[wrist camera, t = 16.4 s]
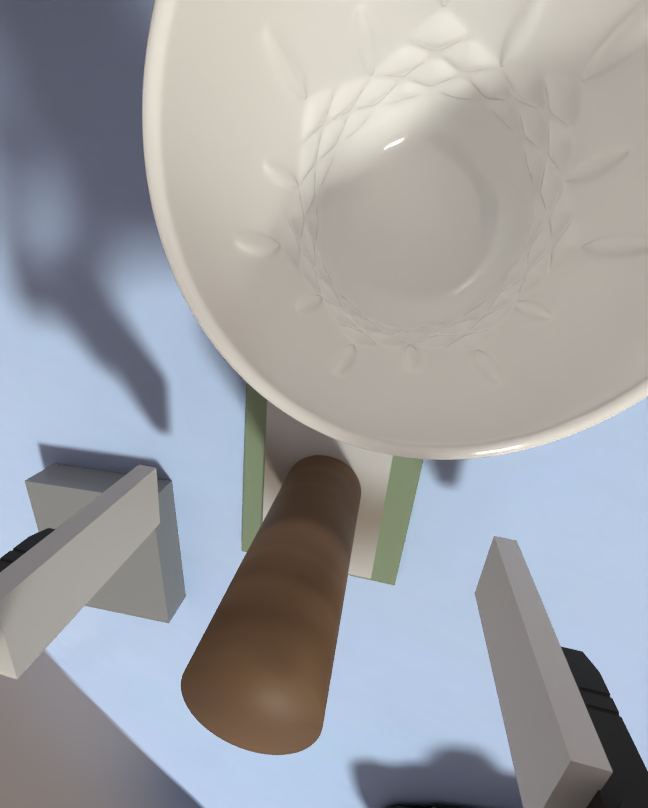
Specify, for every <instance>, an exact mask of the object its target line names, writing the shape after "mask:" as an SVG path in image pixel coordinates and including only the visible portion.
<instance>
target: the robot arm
mask: <svg viewBox="0 0 648 808" xmlns="http://www.w3.org/2000/svg"><path fill="white" fill-rule="evenodd" d="M159 524H160V514H159V499H158V484H157V470H156V468H155V467H150V466H145V465H140V464H139V465H138V466H136V467H135V468H134V469H132V470H131V471H130V472H129V473H127V474H126V475H125V476H124V477H122V478H121V479H120V480H118V481H117V482H116V483H115V484H113V485H112V486H111V487H109V488H108V489H107V490H106V491H104V492H103V493H102V494H100V495H99V496H98V497H97V498H95V499H94V500H93V501H91V502H90V503H89V504H88V505H86V506H85V507H84V508H82V509H81V510H80V511H79V512H77V513H76V514H75V515H73V516H72V517H71V518H70V519H68V520H67V521H66V522H64V523H63V524H62V525H61V526H59V527H58V528H57V529H52V528H47V529H45V530H42V531H40V532H38V533H36V534H34V535H32V536H30V537H28V538H27V539H25V540H24V541H23V542H21V543H20V544H19V545H17V546H16V547H15V548H14V549H13V551H9V552H8V553H7V554H5V555H4V556H3V557H1V558H0V674H1V675H4V676H8V677H11V678H14V679H18V678H19V677H20V676H21V675H22V674H23V672H24V671H25V670H26V669H27V668H28V667H29V666H30V665H31V664H32V663H33V661H34V660H35V659H36V658H37V657H38V656H39V655H40V654H41V653H42V652H43V651H44V650H45V648H46V647H47V646H48V645H49V644H50V643H51V642H52V641H53V640H54V639H55V638H56V636H57V635H58V634H59V633H60V632H61V631H62V630H63V629H64V628H65V627H66V625H67V624H68V623H69V622H70V621H71V620H72V619H73V618H74V617H75V616H76V615H77V613H78V612H79V611H80V610H81V609H82V608H83V607H84V606H85V605H86V604H87V603H88V601H89V600H90V599H91V598H92V597H93V596H94V595H95V594H96V593H97V592H98V591H99V589H100V588H101V587H102V586H103V585H104V584H105V583H106V582H107V581H108V580H109V579H110V577H111V576H112V575H113V574H114V573H115V572H116V571H117V570H118V569H119V568H120V567H121V565H122V564H123V563H124V562H125V561H126V560H127V559H128V558H129V557H130V556H131V554H132V553H133V552H134V551H135V550H136V549H137V548H138V547H139V546H140V545H141V544H142V542H143V541H144V540H145V539H146V538H147V537H148V536H149V535H150V534H151V533H152V532H153V530H154V529H155V528H156V527H157V526H158V525H159ZM475 596H476V601H477V605H478V610H479V614H480V618H481V623H482V627H483V632H484V636H485V641H486V645H487V650H488V654H489V658H490V663H491V667H492V672H493V676H494V681H495V685H496V690H497V694H498V698H499V703H500V707H501V712H502V716H503V721H504V725H505V729H506V734H507V738H508V743H509V747H510V752H511V756H512V761H513V765H514V769H515V774H516V778H517V783H518V787H519V792H520V796H521V801H522V805H523V808H648V771H647V769H646V767H645V765H644V763H643V761H642V759H641V757H640V755H639V753H638V751H637V748H636V746H635V744H634V742H633V740H632V738H631V736H630V734H629V732H628V730H627V728H626V726H625V724H624V722H623V720H622V718H621V717H620V716H619V711H618V709H617V707H616V705H615V703H614V701H613V699H612V698H610V693H609V691H608V689H607V687H606V685H605V683H604V680H603V678H602V676H601V674H600V672H599V671H598V670H597V669H596V667H595V666H594V665H593V664H592V663H591V661H590V660H589V659H588V658H587V657H586V655H585V654H584V653H583V652H581V651H577V650H573V649H569V648H564V647H561V646H560V644H559V641H558V639H557V637H556V634H555V632H554V629H553V627H552V625H551V622H550V620H549V617H548V615H547V613H546V610H545V608H544V605H543V603H542V601H541V598H540V596H539V593H538V591H537V589H536V586H535V584H534V581H533V579H532V577H531V574H530V572H529V569H528V567H527V565H526V562H525V560H524V557H523V555H522V553H521V550H520V548H519V545H518V543H517V541H516V540H511V539H507V538H502V537H497V536H494V538H493V541H492V544H491V547H490V550H489V553H488V555H487V558H486V561H485V564H484V567H483V570H482V573H481V576H480V579H479V582H478V585H477V588H476V591H475Z"/></svg>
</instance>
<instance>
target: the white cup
mask: <svg viewBox="0 0 648 808" xmlns="http://www.w3.org/2000/svg"><path fill="white" fill-rule="evenodd" d="M142 132H143V149H144V160H145V169H146V176H147V183H148V189H149V195H150V200H151V205H152V209H153V214H154V218H155V222H156V226H157V229H158V233H159V236H160V239H161V243H162V246H163V249H164V252H165V255H166V257H167V260H168V263H169V265H170V268H171V270H172V273H173V275H174V277H175V280H176V282H177V284H178V286H179V289H180V291H181V293H182V295H183V297H184V299H185V301H186V302H187V304H188V306H189V308H190V310H191V312H192V313H193V315H194V317H195V318H196V320H197V322H198V323H199V325H200V326H201V328H202V329H203V331H204V332H205V334H206V335H207V337H208V338H209V339H210V341H211V342H212V344H213V345H214V346H215V348H216V349H217V350H218V351H219V353H220V354H221V355H222V356H223V358H224V359H225V360H226V361H227V362H228V363H229V364H230V366H231V367H232V368H233V369H234V370H235V371H236V372H237V373H238V374H239V375H240V376H241V377H242V378H243V379H244V380H245V381H246V382H247V383H248V384H249V385H250V386H251V387H252V388H254V389H255V390H256V391H257V392H258V393H259V394H261V395H262V396H263V397H264V398H265V399H267V400H268V401H269V402H271V403H272V404H273V405H275V406H276V407H277V408H279V409H280V410H282V411H283V412H285V413H286V414H288V415H289V416H291V417H293V418H294V419H296V420H297V421H299V422H301V423H303V424H304V425H306V426H308V427H310V428H312V429H314V430H316V431H318V432H320V433H322V434H324V435H327V436H329V437H331V438H334V439H336V440H339V441H341V442H344V443H347V444H350V445H353V446H356V447H359V448H363V449H366V450H370V451H374V452H378V453H383V454H388V455H393V456H400V457H407V458H416V459H432V460H457V459H473V458H482V457H490V456H497V455H502V454H508V453H513V452H517V451H522V450H526V449H530V448H534V447H537V446H541V445H544V444H547V443H550V442H553V441H556V440H559V439H562V438H565V437H568V436H570V435H573V434H575V433H578V432H580V431H583V430H585V429H588V428H590V427H592V426H594V425H596V424H599V423H601V422H603V421H605V420H607V419H609V418H611V417H613V416H615V415H617V414H618V413H620V412H622V411H624V410H626V409H627V408H629V407H631V406H633V405H634V404H636V403H638V402H639V401H641V400H643V399H644V398H646V397H647V396H648V0H155V3H154V7H153V12H152V17H151V22H150V28H149V34H148V40H147V48H146V56H145V65H144V76H143V93H142Z"/></svg>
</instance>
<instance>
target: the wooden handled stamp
mask: <svg viewBox="0 0 648 808" xmlns="http://www.w3.org/2000/svg"><path fill="white" fill-rule="evenodd" d="M392 458H393V455H388V454H383V453H378V452H374V451H370V450H366V449H363V448H359V447H356V446H353V445H350V444H347V443H344V442H341V441H339V440H336V439H334V438H331V437H329V436H327V435H324V434H322V433H320V432H318V431H316V430H314V429H312V428H310V427H308V426H306V425H304V424H303V423H301V422H299V421H297V420H296V419H294V418H293V417H291V416H289V415H288V414H286V413H285V412H283V411H282V410H280V409H279V408H277V407H276V406H275V405H273V404H272V403H271V402H269V401H268V400H267V417H266V443H265V469H264V495H263V521H262V525H261V526H260V528H259V530H258V532H257V534H256V536H255V538H254V540H253V542H252V544H251V546H250V547H249V549H248V551H247V553H246V555H245V557H244V559H243V561H242V563H241V565H240V566H239V568H238V570H237V572H236V574H235V576H234V578H233V580H232V582H231V584H230V585H229V587H228V589H227V591H226V593H225V595H224V597H223V599H222V601H221V603H220V604H219V606H218V608H217V610H216V612H215V614H214V616H213V618H212V620H211V622H210V623H209V625H208V627H207V629H206V631H205V633H204V635H203V637H202V639H201V641H200V643H199V644H198V646H197V648H196V650H195V652H194V654H193V656H192V658H191V660H190V662H189V663H188V665H187V667H186V669H185V671H184V673H183V675H182V680H181V691H182V695H183V698H184V701H185V703H186V705H187V707H188V709H189V710H190V712H191V713H192V714H193V716H194V717H195V718H196V719H197V720H198V721H199V722H200V723H201V724H202V725H203V726H204V727H205V728H206V729H208V730H209V731H210V732H212V733H213V734H214V735H216V736H218V737H219V738H221V739H222V740H224V741H226V742H228V743H230V744H232V745H235V746H237V747H239V748H242V749H245V750H248V751H252V752H256V753H262V754H270V755H285V754H292V753H296V752H299V751H302V750H304V749H306V748H308V747H310V746H311V745H312V744H313V743H314V742H315V741H316V740H317V739H318V738H319V736H320V734H321V731H322V727H323V721H324V715H325V709H326V703H327V697H328V691H329V685H330V679H331V673H332V667H333V661H334V655H335V649H336V643H337V637H338V631H339V625H340V619H341V613H342V607H343V601H344V595H345V589H346V583H347V577H348V574H351V575H355V576H360V577H365V578H369V579H371V575H372V570H373V564H374V558H375V553H376V547H377V542H378V536H379V530H380V525H381V519H382V514H383V508H384V502H385V497H386V491H387V486H388V480H389V474H390V469H391V463H392Z"/></svg>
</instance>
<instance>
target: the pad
mask: <svg viewBox="0 0 648 808" xmlns="http://www.w3.org/2000/svg"><path fill="white" fill-rule="evenodd" d="M266 417H267V399H265V398H264V397H263V396H262V395H261V394H259V393H258V392H257V391H256V390H255V389H254V388H252V387H251V386H250V385H249V384H248V383H247V387H246V420H245V454H244V487H243V520H242V551H245V552H247V551H248V549H249V547H250V546H251V544H252V542H253V540H254V538H255V536H256V534H257V532H258V530H259V528H260V526H261V525H262V521H263V495H264V469H265V443H266ZM422 463H423V459H416V458H407V457H400V456H393V458H392V463H391V469H390V474H389V480H388V486H387V491H386V497H385V502H384V508H383V514H382V519H381V525H380V530H379V536H378V542H377V547H376V553H375V558H374V564H373V570H372V575H371V579H369V578H365V577H360V576H355V575H351V574H348V575H351V576H355V577H360V578H364V579H369V580H373V581H378V582H382V583H386V584H391V585H395V581H396V577H397V572H398V568H399V564H400V559H401V555H402V550H403V546H404V542H405V537H406V533H407V529H408V524H409V520H410V516H411V511H412V507H413V502H414V498H415V494H416V489H417V485H418V481H419V476H420V472H421V468H422Z"/></svg>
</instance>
